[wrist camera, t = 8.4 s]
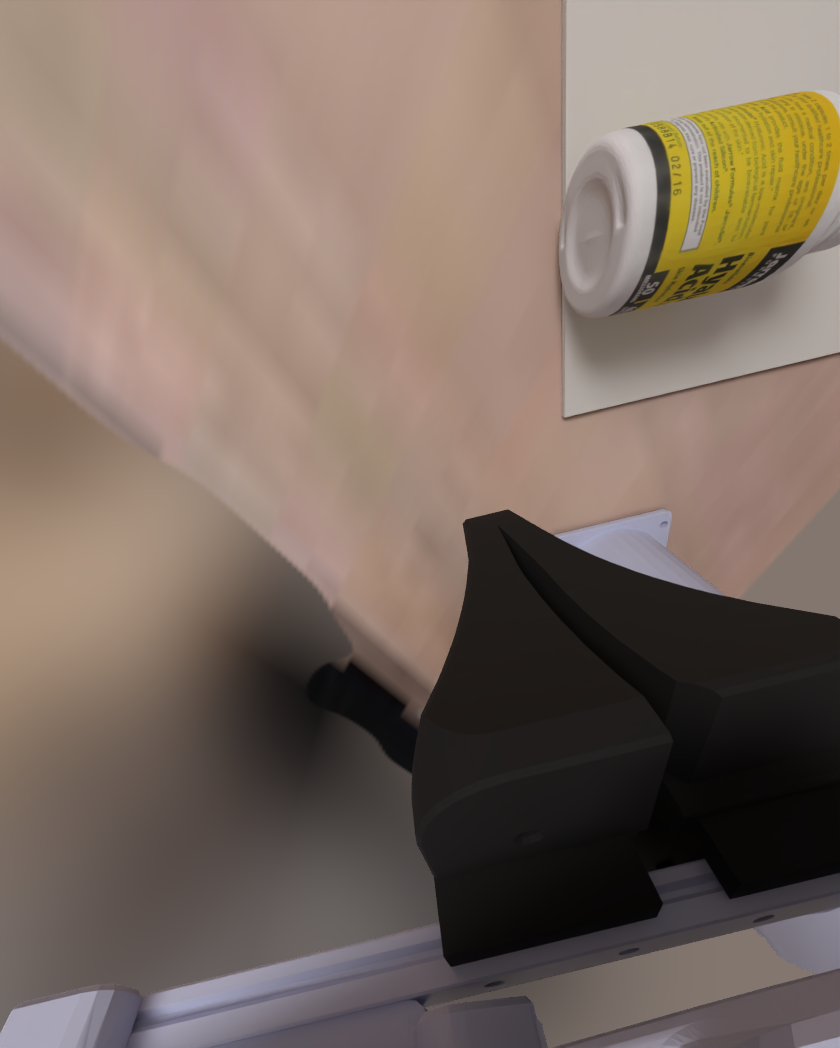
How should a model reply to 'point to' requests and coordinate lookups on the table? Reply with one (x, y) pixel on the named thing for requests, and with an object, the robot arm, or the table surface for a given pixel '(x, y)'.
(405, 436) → the table surface
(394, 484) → the table surface
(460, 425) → the table surface
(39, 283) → the table surface
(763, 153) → the supplement bottle
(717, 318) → the grey mat
